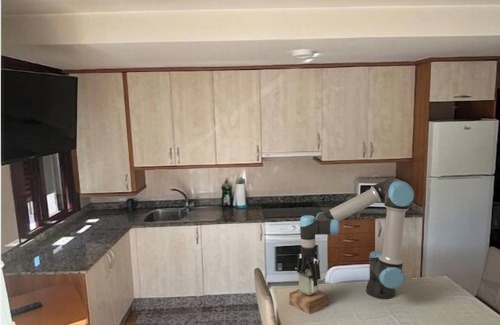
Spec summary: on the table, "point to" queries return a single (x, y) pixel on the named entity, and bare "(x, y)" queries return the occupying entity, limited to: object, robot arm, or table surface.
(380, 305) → the table surface
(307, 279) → the tea tin
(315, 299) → the block
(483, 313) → the table surface
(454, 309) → the table surface
